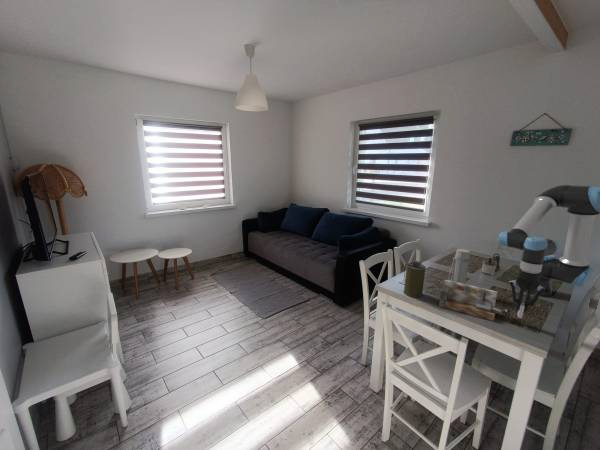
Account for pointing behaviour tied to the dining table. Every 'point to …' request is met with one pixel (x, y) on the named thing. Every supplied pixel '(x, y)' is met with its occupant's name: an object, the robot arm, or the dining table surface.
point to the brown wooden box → (466, 299)
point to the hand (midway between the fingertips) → (519, 316)
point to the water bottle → (460, 266)
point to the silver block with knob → (489, 306)
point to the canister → (414, 279)
